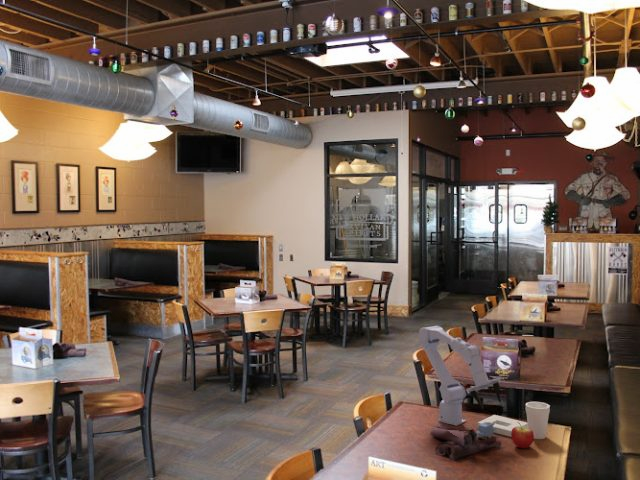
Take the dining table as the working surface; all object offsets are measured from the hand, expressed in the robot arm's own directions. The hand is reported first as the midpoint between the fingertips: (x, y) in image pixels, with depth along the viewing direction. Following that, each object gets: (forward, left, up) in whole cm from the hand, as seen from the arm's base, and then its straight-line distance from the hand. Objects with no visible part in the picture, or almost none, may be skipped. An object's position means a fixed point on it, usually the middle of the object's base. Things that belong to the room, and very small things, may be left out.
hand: (491, 405), depth 260 cm
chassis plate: (-1, +12, -13) cm, 18 cm away
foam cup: (+14, +13, -13) cm, 23 cm away
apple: (+15, -2, -13) cm, 20 cm away
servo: (-1, -2, -13) cm, 13 cm away
